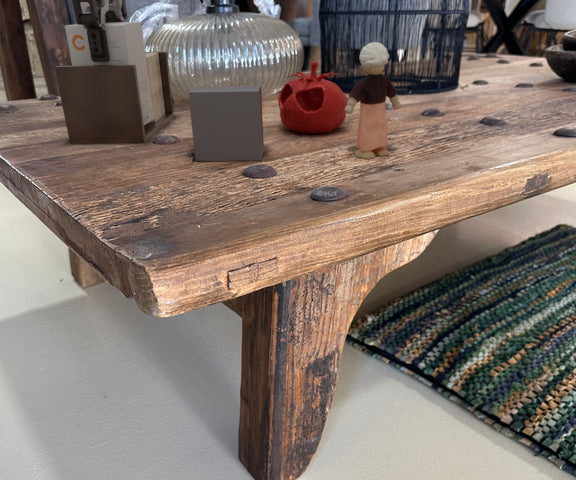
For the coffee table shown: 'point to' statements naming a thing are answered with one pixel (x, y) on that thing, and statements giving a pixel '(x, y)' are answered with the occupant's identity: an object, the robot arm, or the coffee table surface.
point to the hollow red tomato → (312, 103)
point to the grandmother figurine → (372, 102)
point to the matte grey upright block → (227, 123)
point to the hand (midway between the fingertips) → (109, 58)
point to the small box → (116, 55)
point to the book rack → (113, 101)
